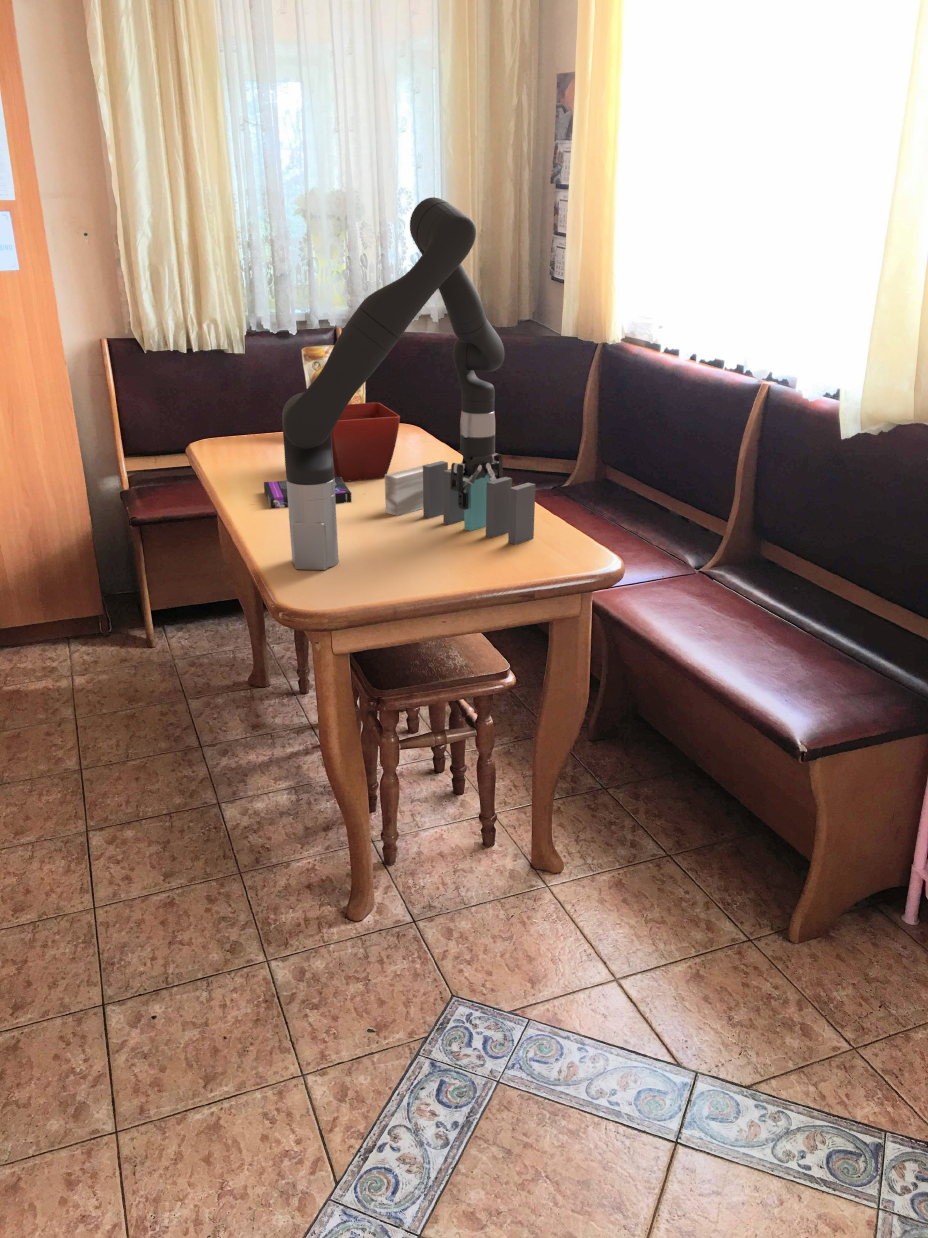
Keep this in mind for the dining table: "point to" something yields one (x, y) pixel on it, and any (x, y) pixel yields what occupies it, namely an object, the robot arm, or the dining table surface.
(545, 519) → the dining table surface
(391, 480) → the block
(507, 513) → the domino
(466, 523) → the domino
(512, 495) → the domino
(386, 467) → the plant pot
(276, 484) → the box
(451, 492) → the domino
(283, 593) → the dining table surface
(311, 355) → the pancake mix bag
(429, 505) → the domino
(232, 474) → the dining table surface
